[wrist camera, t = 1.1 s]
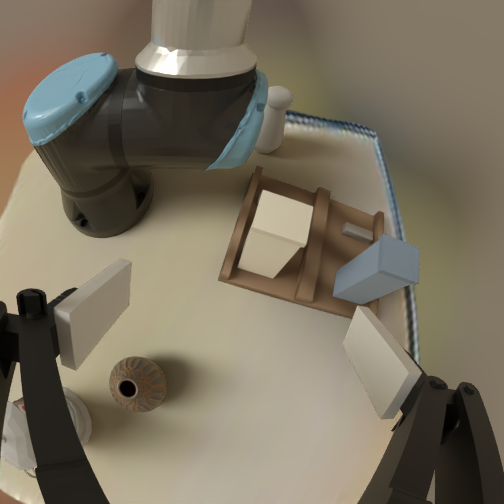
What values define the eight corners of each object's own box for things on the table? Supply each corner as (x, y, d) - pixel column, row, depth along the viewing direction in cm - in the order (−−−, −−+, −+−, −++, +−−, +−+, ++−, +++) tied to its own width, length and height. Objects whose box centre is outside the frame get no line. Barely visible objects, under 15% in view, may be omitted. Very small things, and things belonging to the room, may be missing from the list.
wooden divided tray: (365, 322, 40) (377, 318, 37) (218, 280, 39) (219, 273, 36) (374, 222, 47) (385, 213, 44) (251, 178, 46) (255, 165, 43)
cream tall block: (273, 280, 39) (306, 244, 27) (235, 268, 38) (251, 227, 27) (281, 251, 40) (313, 206, 29) (244, 239, 40) (262, 189, 28)
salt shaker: (275, 134, 51) (293, 81, 39) (282, 157, 49) (304, 104, 37) (244, 134, 49) (258, 79, 37) (250, 158, 48) (266, 102, 36)
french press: (85, 385, 30) (-45, 401, 7) (102, 462, 27) (12, 545, 4) (31, 383, 28) (-97, 379, 5) (47, 455, 24) (-58, 503, 1)
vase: (115, 358, 33) (92, 357, 25) (164, 354, 34) (154, 353, 26) (124, 407, 31) (103, 420, 22) (174, 404, 32) (166, 418, 24)
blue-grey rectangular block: (362, 306, 39) (418, 283, 28) (331, 297, 39) (381, 270, 27) (366, 278, 41) (419, 248, 29) (335, 268, 41) (383, 233, 29)
